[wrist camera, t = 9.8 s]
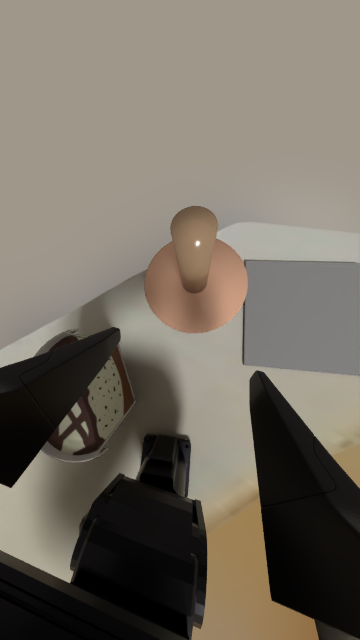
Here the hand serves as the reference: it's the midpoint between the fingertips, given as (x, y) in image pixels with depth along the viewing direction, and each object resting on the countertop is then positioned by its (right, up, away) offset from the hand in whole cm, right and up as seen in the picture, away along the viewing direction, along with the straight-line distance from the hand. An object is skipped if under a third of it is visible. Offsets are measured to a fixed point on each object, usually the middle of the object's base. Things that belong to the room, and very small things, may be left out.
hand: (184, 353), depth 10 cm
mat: (+17, +3, +12) cm, 22 cm away
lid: (+2, +7, +10) cm, 13 cm away
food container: (-11, -7, +14) cm, 19 cm away
